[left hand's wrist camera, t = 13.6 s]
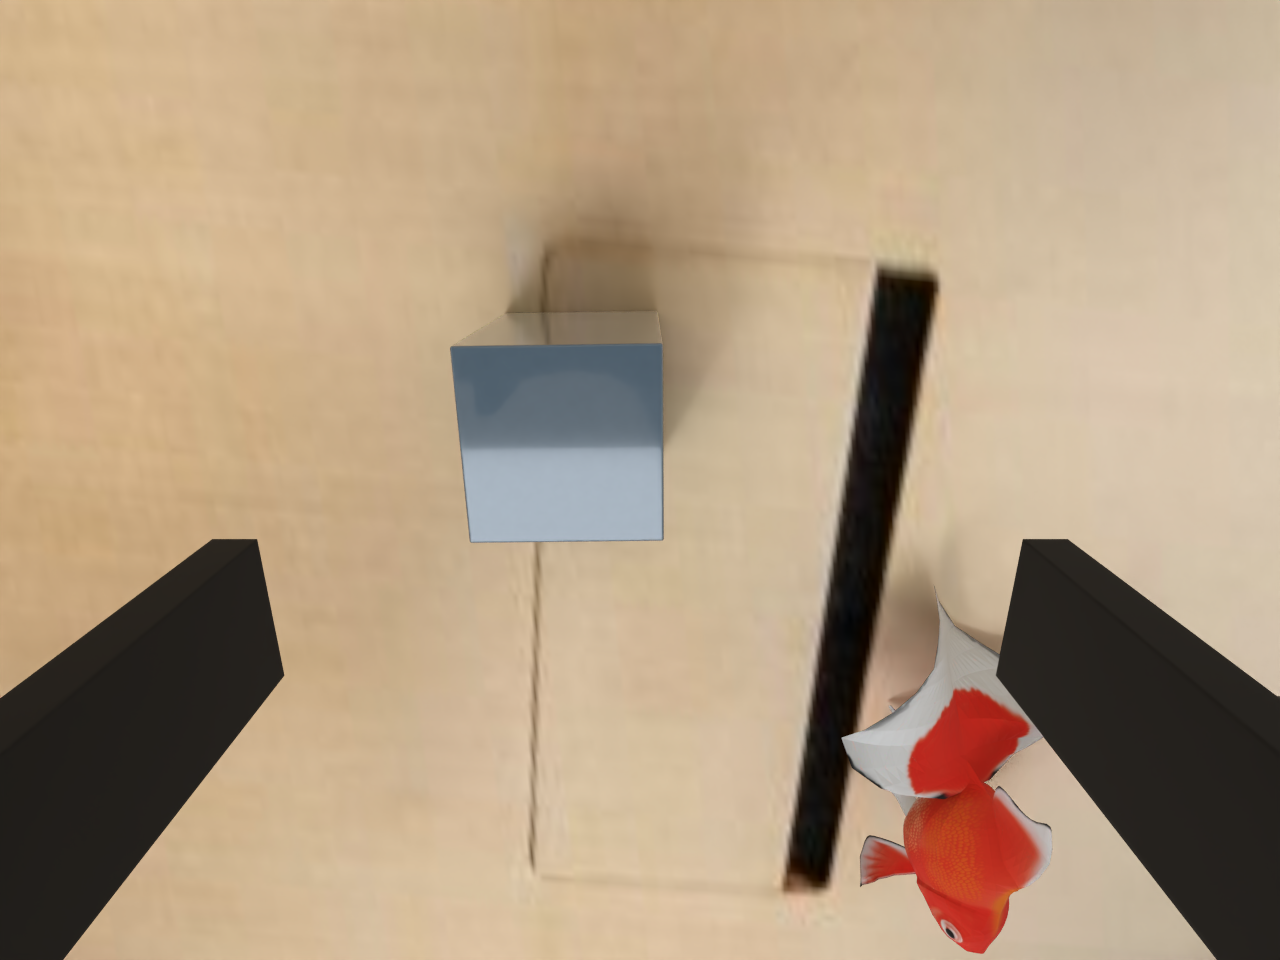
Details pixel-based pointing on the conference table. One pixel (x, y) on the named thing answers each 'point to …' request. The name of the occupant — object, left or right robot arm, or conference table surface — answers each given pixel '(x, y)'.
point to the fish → (954, 792)
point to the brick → (562, 427)
